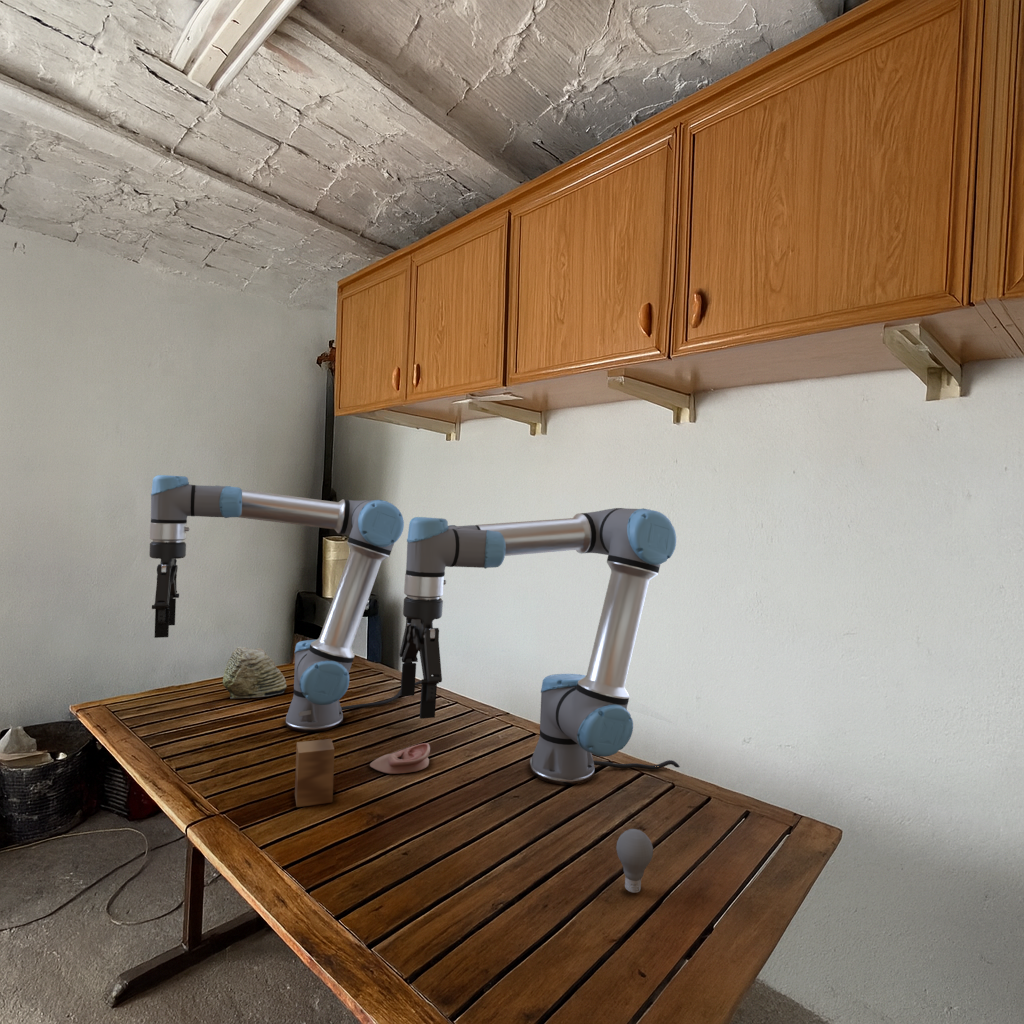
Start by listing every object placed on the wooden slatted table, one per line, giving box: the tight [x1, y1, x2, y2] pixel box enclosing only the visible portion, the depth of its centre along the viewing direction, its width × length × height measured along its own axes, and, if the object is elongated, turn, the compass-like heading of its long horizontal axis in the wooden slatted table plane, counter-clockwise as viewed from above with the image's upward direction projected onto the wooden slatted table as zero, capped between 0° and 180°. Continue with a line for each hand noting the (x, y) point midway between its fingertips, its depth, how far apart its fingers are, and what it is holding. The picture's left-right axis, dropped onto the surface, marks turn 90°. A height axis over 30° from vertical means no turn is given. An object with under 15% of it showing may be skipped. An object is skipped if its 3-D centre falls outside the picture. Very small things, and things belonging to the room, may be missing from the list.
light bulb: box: [615, 828, 654, 894], centre depth 106 cm, size 6×6×10 cm
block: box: [294, 738, 335, 808], centre depth 133 cm, size 7×6×11 cm
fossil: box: [222, 646, 288, 699], centre depth 198 cm, size 9×18×15 cm, turn 132°
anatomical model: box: [369, 742, 431, 775], centre depth 151 cm, size 13×4×12 cm
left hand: (165, 631), depth 149 cm, fingers open, 13 cm apart
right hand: (416, 706), depth 123 cm, fingers open, 13 cm apart
